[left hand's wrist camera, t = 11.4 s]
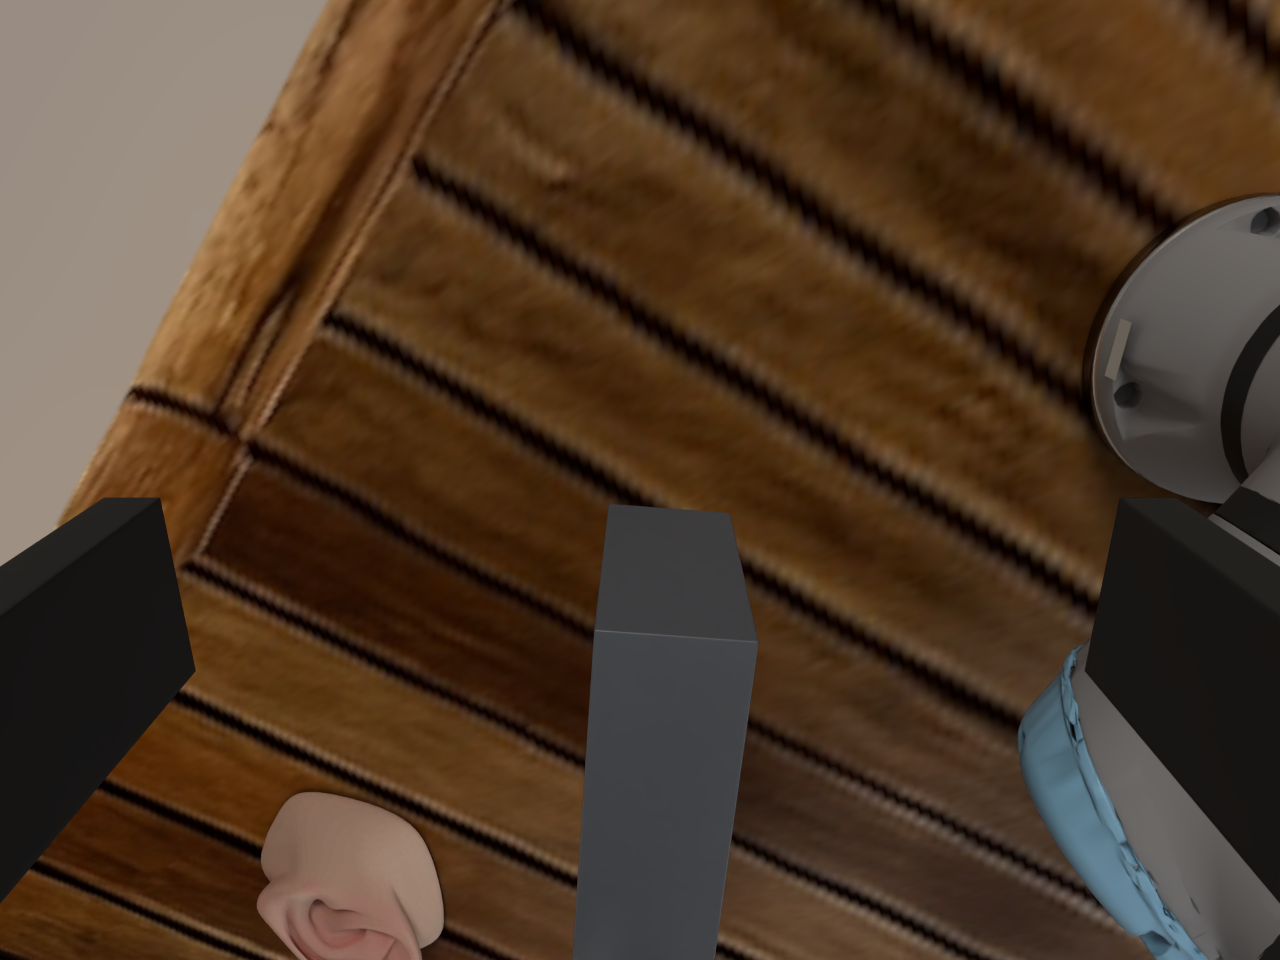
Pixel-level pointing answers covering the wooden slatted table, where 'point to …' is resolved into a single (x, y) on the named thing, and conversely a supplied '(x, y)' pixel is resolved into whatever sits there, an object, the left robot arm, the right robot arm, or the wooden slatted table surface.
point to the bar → (663, 735)
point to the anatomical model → (348, 881)
